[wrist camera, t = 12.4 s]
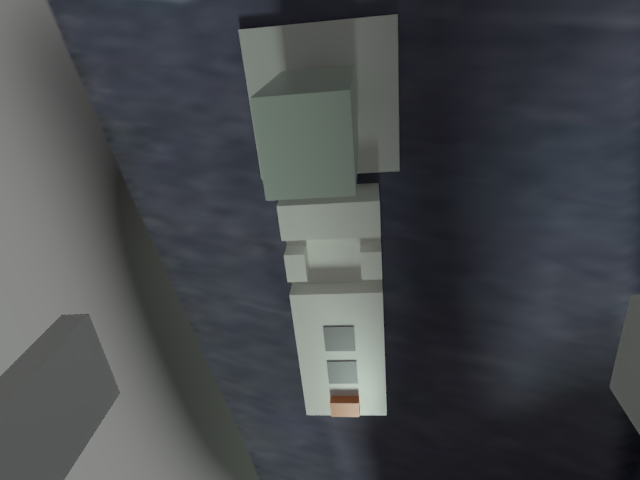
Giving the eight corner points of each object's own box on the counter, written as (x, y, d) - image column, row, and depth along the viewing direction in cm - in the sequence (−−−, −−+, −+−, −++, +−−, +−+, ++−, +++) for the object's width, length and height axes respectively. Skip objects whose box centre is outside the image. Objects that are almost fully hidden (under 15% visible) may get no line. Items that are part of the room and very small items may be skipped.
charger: (358, 138, 32) (356, 196, 22) (294, 143, 32) (265, 200, 23) (354, 62, 29) (350, 89, 20) (285, 68, 30) (250, 97, 21)
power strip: (385, 385, 43) (387, 423, 39) (310, 385, 43) (305, 422, 40) (378, 182, 34) (380, 205, 30) (284, 187, 34) (274, 210, 31)
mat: (398, 168, 33) (399, 171, 32) (263, 176, 34) (261, 179, 34) (397, 14, 28) (397, 14, 28) (240, 29, 30) (238, 29, 29)
